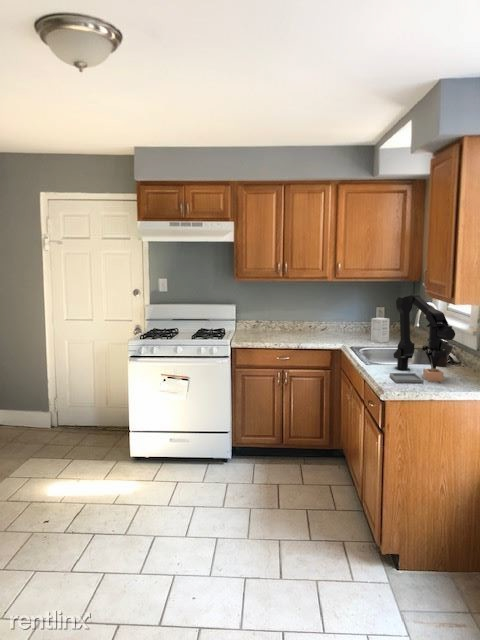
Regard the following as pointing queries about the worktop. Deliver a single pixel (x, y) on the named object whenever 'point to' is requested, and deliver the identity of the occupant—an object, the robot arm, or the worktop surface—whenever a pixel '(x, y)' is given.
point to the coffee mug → (443, 360)
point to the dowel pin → (432, 368)
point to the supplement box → (380, 330)
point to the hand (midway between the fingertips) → (433, 367)
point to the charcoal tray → (406, 378)
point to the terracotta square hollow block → (433, 375)
